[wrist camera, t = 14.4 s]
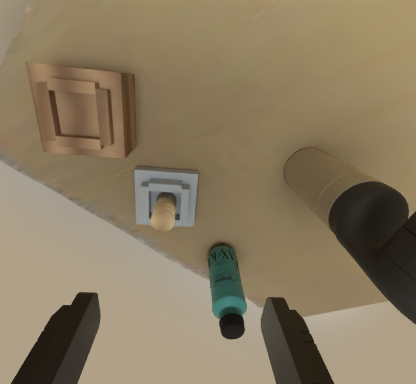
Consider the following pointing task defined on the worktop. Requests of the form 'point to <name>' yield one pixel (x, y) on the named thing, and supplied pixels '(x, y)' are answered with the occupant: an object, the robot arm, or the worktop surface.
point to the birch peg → (164, 212)
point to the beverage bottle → (227, 292)
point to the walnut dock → (84, 110)
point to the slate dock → (165, 182)
